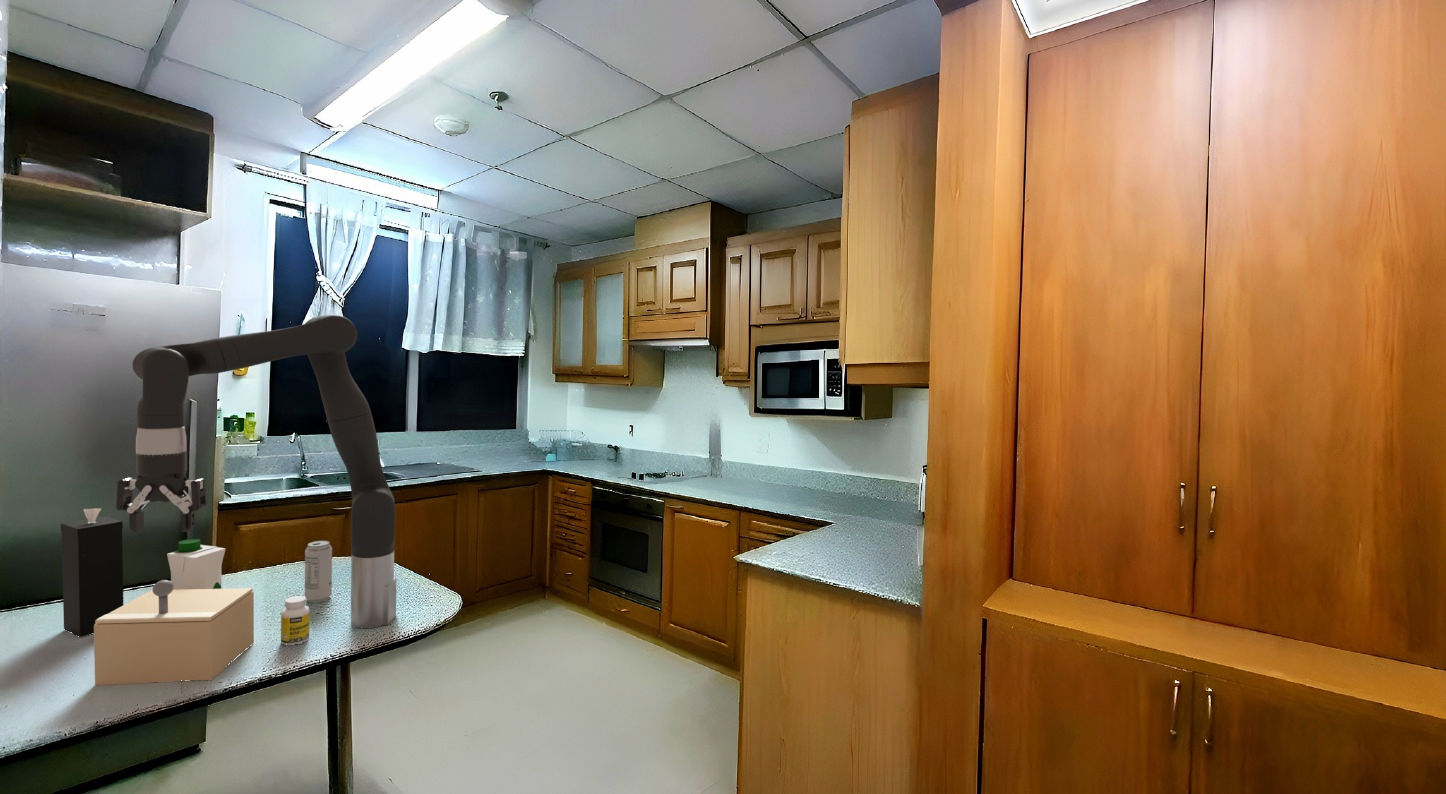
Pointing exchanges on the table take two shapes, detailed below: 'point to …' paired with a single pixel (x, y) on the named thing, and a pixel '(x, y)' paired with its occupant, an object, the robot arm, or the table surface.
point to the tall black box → (91, 570)
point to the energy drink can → (318, 571)
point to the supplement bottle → (295, 621)
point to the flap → (175, 605)
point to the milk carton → (196, 565)
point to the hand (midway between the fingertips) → (162, 530)
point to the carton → (172, 647)
